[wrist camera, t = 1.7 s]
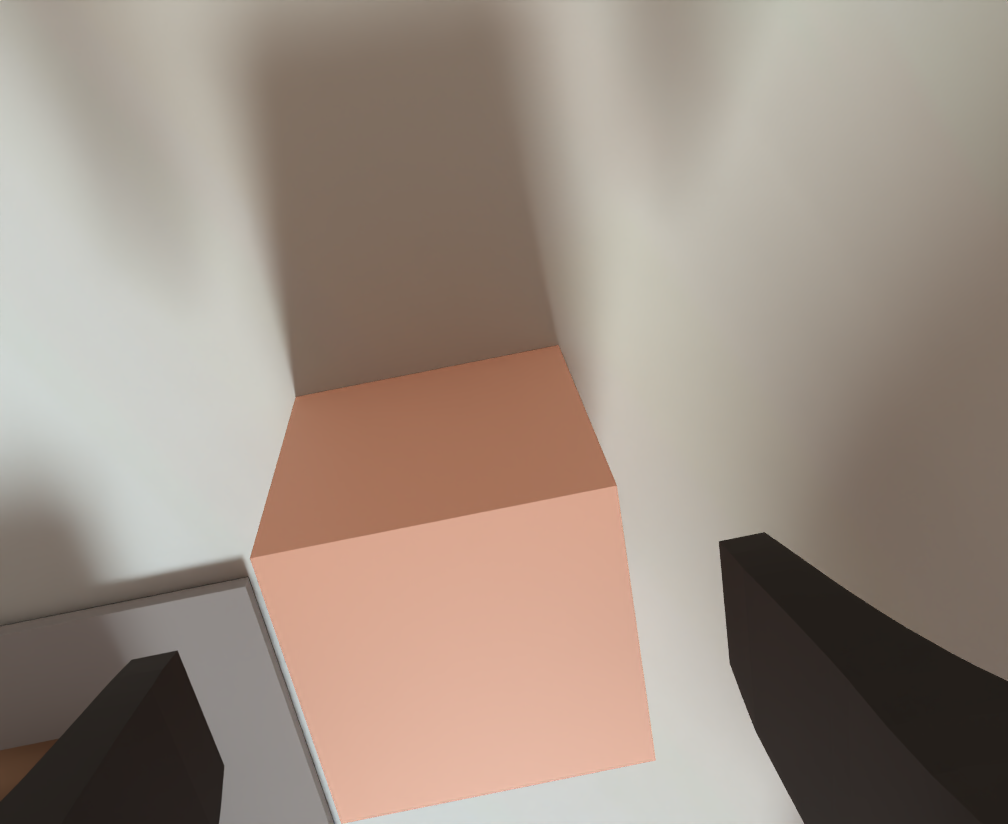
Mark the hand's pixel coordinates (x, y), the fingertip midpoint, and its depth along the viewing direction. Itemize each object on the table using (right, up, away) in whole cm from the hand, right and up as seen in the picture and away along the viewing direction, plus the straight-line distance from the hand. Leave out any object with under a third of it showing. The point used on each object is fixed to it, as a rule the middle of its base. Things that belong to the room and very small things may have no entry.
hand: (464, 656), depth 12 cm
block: (0, +2, +4) cm, 5 cm away
